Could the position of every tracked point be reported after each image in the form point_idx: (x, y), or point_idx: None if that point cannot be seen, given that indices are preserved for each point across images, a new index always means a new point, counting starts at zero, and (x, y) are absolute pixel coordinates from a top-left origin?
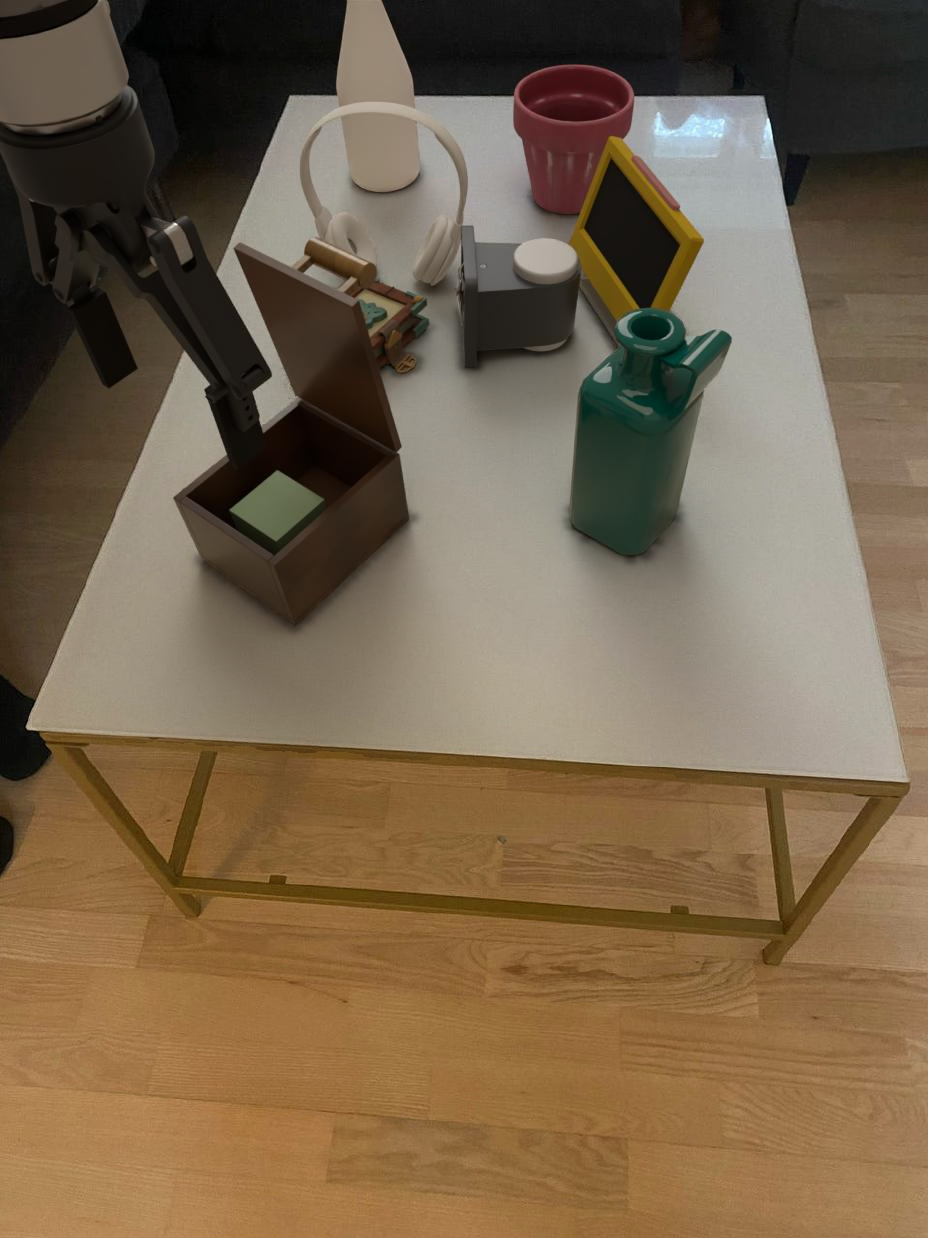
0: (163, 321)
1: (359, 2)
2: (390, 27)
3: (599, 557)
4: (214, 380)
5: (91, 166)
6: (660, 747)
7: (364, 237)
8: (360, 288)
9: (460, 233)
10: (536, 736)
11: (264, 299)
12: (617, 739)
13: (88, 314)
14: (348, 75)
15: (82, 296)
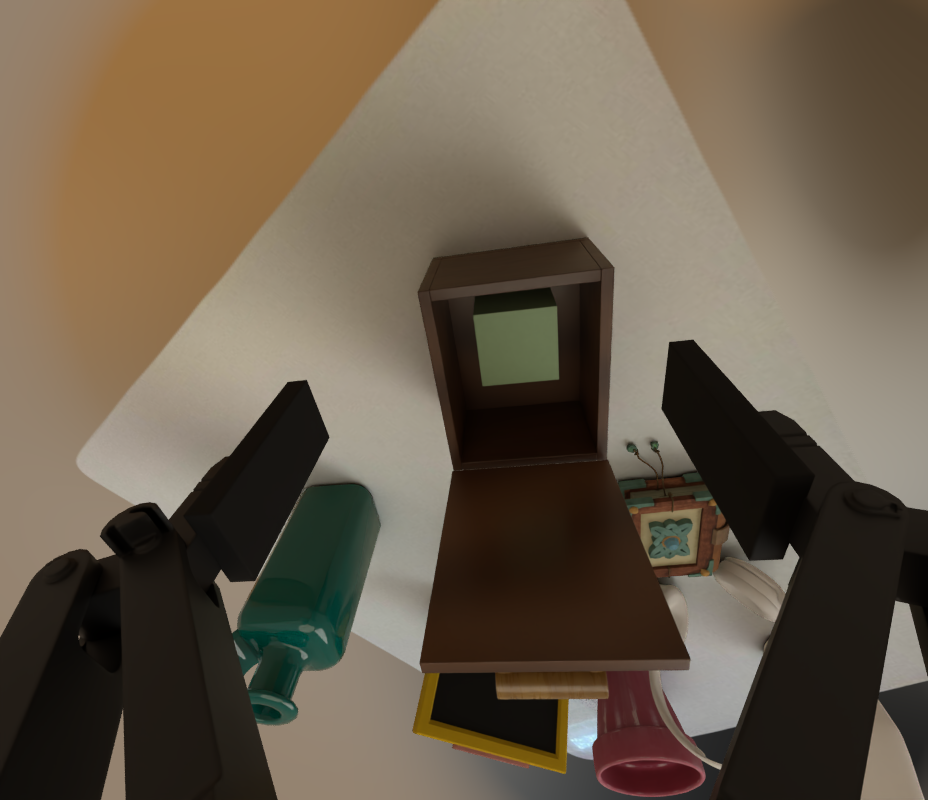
0: (200, 692)
1: None
2: None
3: (321, 475)
4: (132, 562)
5: None
6: (147, 389)
7: (743, 601)
8: (698, 562)
9: None
10: (198, 334)
11: (630, 582)
12: (167, 374)
13: (750, 484)
14: (883, 752)
15: (798, 525)
